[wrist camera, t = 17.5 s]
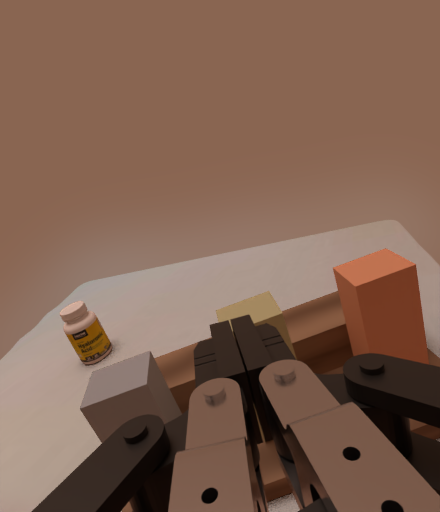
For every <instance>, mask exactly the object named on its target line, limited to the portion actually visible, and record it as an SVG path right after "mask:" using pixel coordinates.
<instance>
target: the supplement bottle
mask: <svg viewBox="0 0 440 512" xmlns="http://www.w3.org/2000/svg"><path fill="white" fill-rule="evenodd" d="M60 316H61V318H62V320H63V321H64V322H66V323H65V324H64V328H63V329H64V332H65V334H66V335H67V337H68V339H69V341H70V342H71V344H72V346H73V348H74V349H75V351H76V353H77V354H78V356H79V358H80V359H81V361H82V362H83V363H84V364H94V363H96V362H98V361H100V360H102V359H103V358H105V357H106V356H107V355H108V354H109V353H110V351H111V349H112V345H111V342H110V341H109V339H108V337H107V335H106V333H105V331H104V329H103V327H102V326H101V324H100V322H99V320H98V318H97V316H96V315H95V313H94V312H92V311H87V307H86V305H85V304H84V302H83V301H78V302H74V303H72V304H70V305H68V306H66V307H65V308H64V309H62V310H61V312H60Z"/></svg>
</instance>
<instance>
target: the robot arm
mask: <svg viewBox="0 0 440 512" xmlns="http://www.w3.org/2000/svg"><path fill="white" fill-rule="evenodd" d="M230 321H231V325H232V329H233V332H232V329H231V326H230V323H229V320H226V321H223V322H219V323H215V324H212V325H210V330H211V336H212V338H211V339H207V340H204V341H200V342H198V344H197V345H196V347H195V349H194V350H193V351H194V366H195V367H194V368H195V385H196V389H195V390H194V391H193V392H192V394H191V396H190V400H189V409H188V410H187V411H186V412H184V413H183V414H182V415H180V416H179V417H177V418H175V419H173V420H171V421H170V422H168V423H166V424H164V423H163V420H162V419H161V418H160V417H159V416H156V415H152V414H147V415H141V416H138V417H135V418H133V419H130V420H129V421H127V422H125V423H124V424H122V425H121V426H120V427H119V428H118V429H117V430H116V431H115V432H114V433H113V434H111V435H110V436H109V437H108V438H107V439H106V440H105V441H104V442H103V443H102V444H101V445H100V446H99V447H98V448H97V449H96V450H95V451H94V452H93V453H92V454H91V455H90V456H89V457H88V458H87V459H86V460H85V461H84V462H82V463H81V464H80V465H79V466H78V467H77V468H76V469H75V470H74V471H73V472H72V473H71V474H70V475H69V476H68V477H67V478H66V479H65V480H64V481H63V482H62V483H61V484H60V485H59V486H58V487H57V488H56V489H55V490H53V491H52V492H51V493H50V494H49V495H48V496H47V497H46V498H45V499H44V500H43V501H42V502H41V503H40V504H39V505H38V506H37V507H36V508H35V509H34V510H33V511H32V512H121V511H122V509H123V508H124V507H125V506H126V504H127V503H128V502H130V505H131V508H132V510H133V511H132V512H269V510H268V505H267V499H266V493H265V488H264V482H263V476H262V471H261V467H260V463H259V461H260V453H259V449H258V445H257V444H260V443H263V439H262V435H261V432H260V428H259V424H258V420H257V416H258V419H259V423H260V426H261V429H262V432H263V435H264V439H265V442H267V441H270V440H273V441H274V444H275V447H276V450H277V455H278V459H279V463H280V466H281V468H282V470H283V472H284V475H285V477H286V479H287V481H288V484H289V486H290V488H291V491H292V493H293V495H294V497H295V500H296V502H297V504H298V506H299V509H300V511H298V512H440V442H439V441H436V440H433V439H430V438H428V437H425V436H422V435H419V434H416V433H414V432H411V429H410V421H409V418H410V419H413V420H416V421H419V422H422V423H425V424H428V425H431V426H434V427H437V428H440V367H438V366H433V365H429V364H424V363H420V362H415V361H411V360H406V359H401V358H397V357H392V356H388V355H383V354H377V353H366V354H360V355H357V356H354V357H352V358H350V359H348V360H347V361H346V362H345V364H344V366H343V374H316V373H313V372H312V370H311V369H310V368H309V367H308V366H307V365H306V364H305V363H303V362H301V361H297V360H296V358H295V357H294V355H293V354H292V352H291V351H290V349H289V347H288V346H287V344H286V343H285V342H284V339H283V338H282V336H281V335H280V333H279V331H278V330H277V328H276V327H274V326H272V325H270V324H268V323H265V324H262V325H258V326H255V325H254V323H253V321H252V319H251V317H250V315H249V314H248V315H244V316H241V317H237V318H233V319H230ZM233 333H234V335H233ZM234 337H235V338H234ZM254 407H255V408H254ZM255 410H256V412H255ZM256 413H257V416H256Z"/></svg>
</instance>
